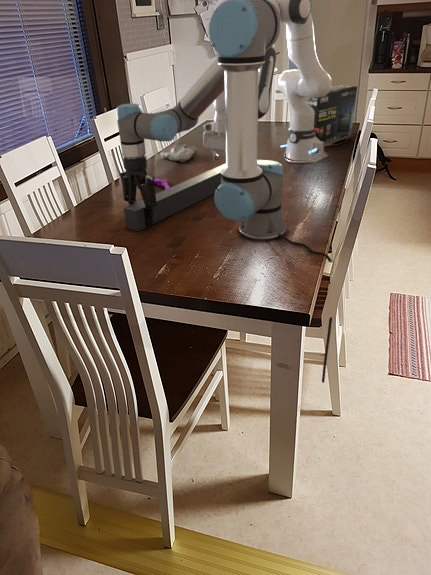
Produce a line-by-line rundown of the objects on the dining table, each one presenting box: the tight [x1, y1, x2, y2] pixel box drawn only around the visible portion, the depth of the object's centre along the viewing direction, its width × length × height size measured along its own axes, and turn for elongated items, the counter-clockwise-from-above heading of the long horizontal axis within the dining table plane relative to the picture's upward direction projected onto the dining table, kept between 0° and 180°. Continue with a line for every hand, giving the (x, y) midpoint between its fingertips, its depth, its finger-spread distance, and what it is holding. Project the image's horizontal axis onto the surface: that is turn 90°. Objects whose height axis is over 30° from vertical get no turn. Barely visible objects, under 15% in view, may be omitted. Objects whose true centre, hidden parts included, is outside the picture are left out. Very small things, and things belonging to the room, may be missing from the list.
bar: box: [123, 162, 226, 232], centre depth 174 cm, size 61×6×7 cm, turn 144°
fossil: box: [160, 142, 199, 163], centre depth 229 cm, size 18×11×15 cm
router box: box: [306, 84, 358, 144], centre depth 238 cm, size 36×11×27 cm, turn 134°
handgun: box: [154, 177, 171, 190], centre depth 189 cm, size 21×8×2 cm, turn 11°
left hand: (142, 223), depth 159 cm, fingers closed on bar, 6 cm apart
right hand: (225, 161), depth 188 cm, fingers open, 8 cm apart
